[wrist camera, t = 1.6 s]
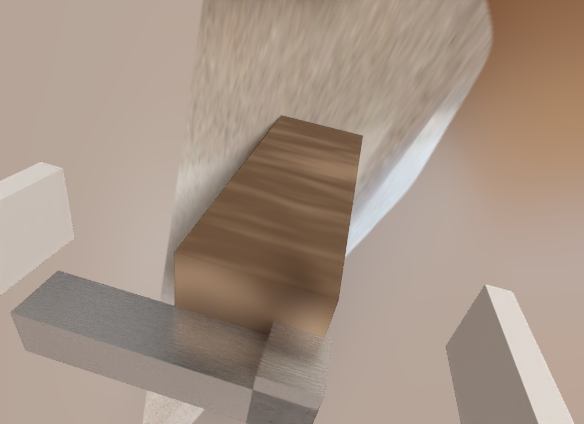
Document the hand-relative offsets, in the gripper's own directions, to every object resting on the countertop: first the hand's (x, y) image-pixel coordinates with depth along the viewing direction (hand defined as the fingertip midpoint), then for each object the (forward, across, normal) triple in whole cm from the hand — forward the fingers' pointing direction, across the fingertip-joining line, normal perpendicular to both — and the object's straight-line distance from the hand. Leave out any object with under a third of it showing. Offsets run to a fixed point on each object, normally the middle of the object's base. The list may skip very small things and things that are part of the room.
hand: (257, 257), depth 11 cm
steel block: (+8, -6, -15) cm, 18 cm away
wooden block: (+36, -1, -14) cm, 38 cm away
